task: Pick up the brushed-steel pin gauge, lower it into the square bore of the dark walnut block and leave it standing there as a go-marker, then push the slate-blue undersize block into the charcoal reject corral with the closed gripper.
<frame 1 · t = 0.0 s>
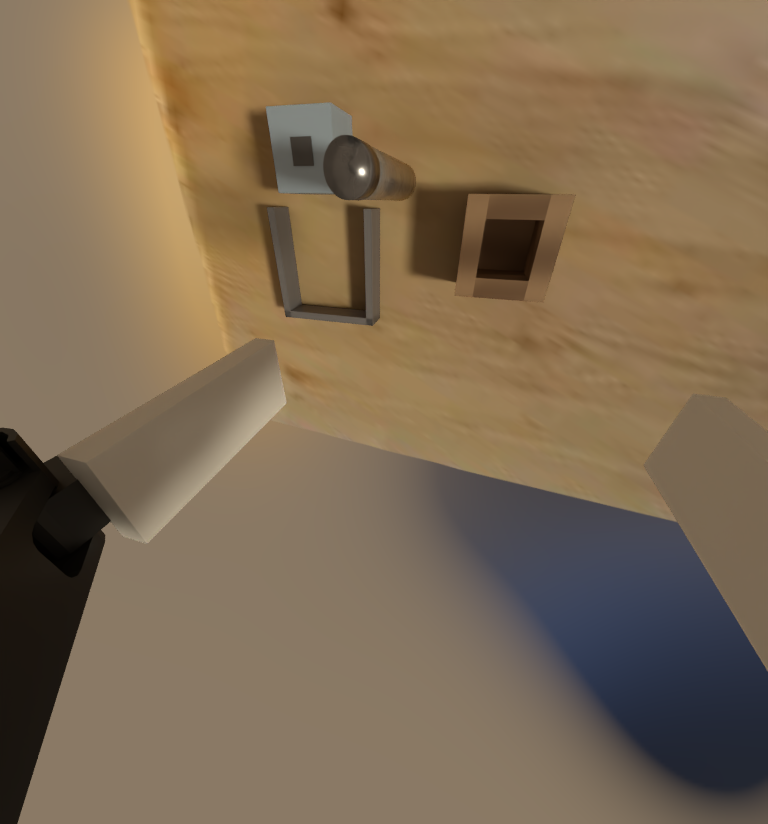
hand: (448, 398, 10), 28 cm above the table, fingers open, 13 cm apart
bore block: (504, 243, 31), on the table
undersize block: (325, 158, 31), on the table
reject corral: (333, 265, 37), on the table
pin gauge: (401, 182, 30), on the table
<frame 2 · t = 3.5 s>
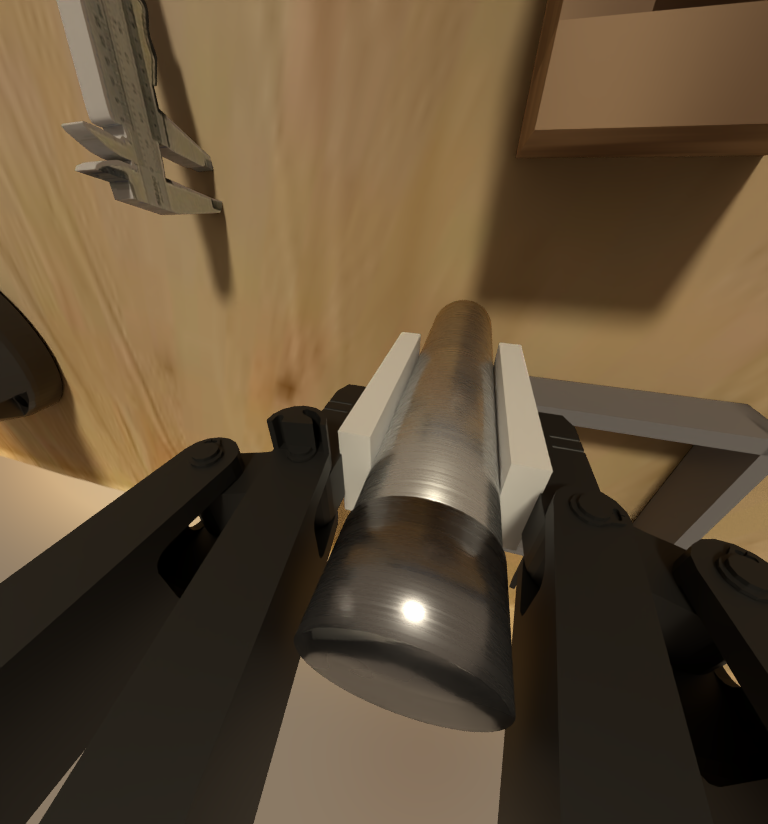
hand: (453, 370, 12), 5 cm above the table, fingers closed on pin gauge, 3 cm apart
reject corral: (571, 467, 19), on the table
pin gauge: (461, 329, 16), on the table, touching gripper
when the fingers open (7 cm above the table, at t = 10.0 s): pin gauge stays where it is, resting on bore block.
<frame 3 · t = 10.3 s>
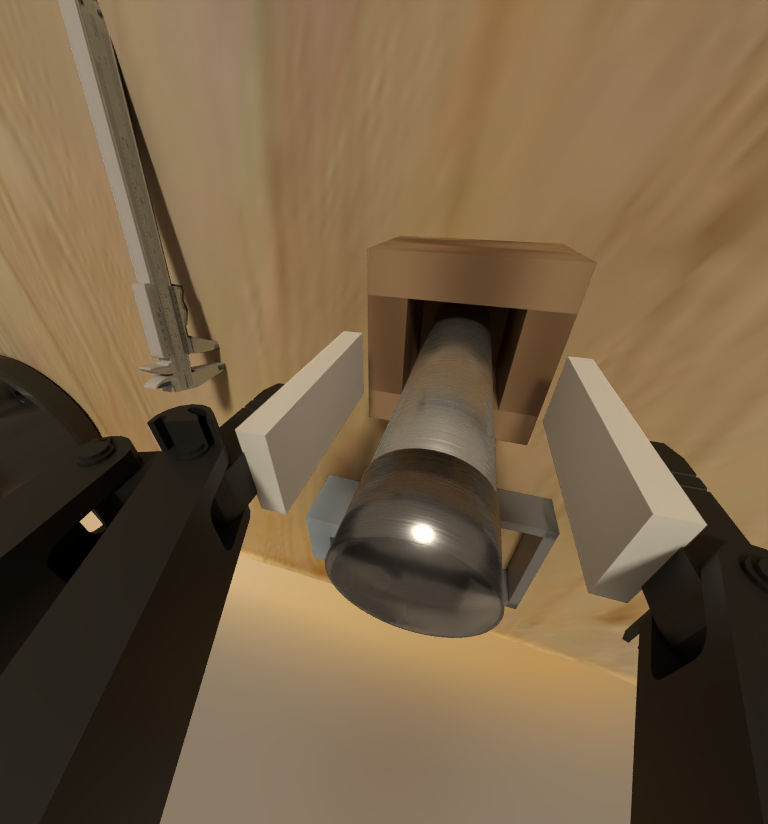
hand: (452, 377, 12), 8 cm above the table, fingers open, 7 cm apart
bore block: (463, 316, 18), on the table, touching pin gauge
undersize block: (360, 501, 30), on the table
reject corral: (463, 527, 28), on the table
pin gauge: (462, 322, 17), point 1 cm above the table, touching bore block
caliper: (175, 222, 20), on the table
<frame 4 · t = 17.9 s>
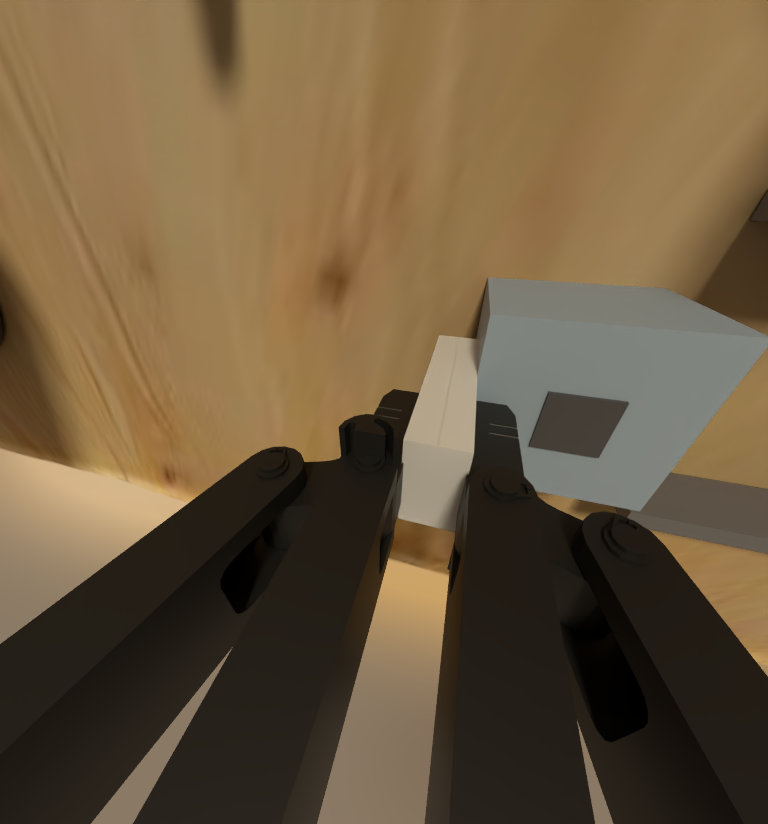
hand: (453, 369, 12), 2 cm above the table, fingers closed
undersize block: (546, 356, 13), on the table, touching gripper
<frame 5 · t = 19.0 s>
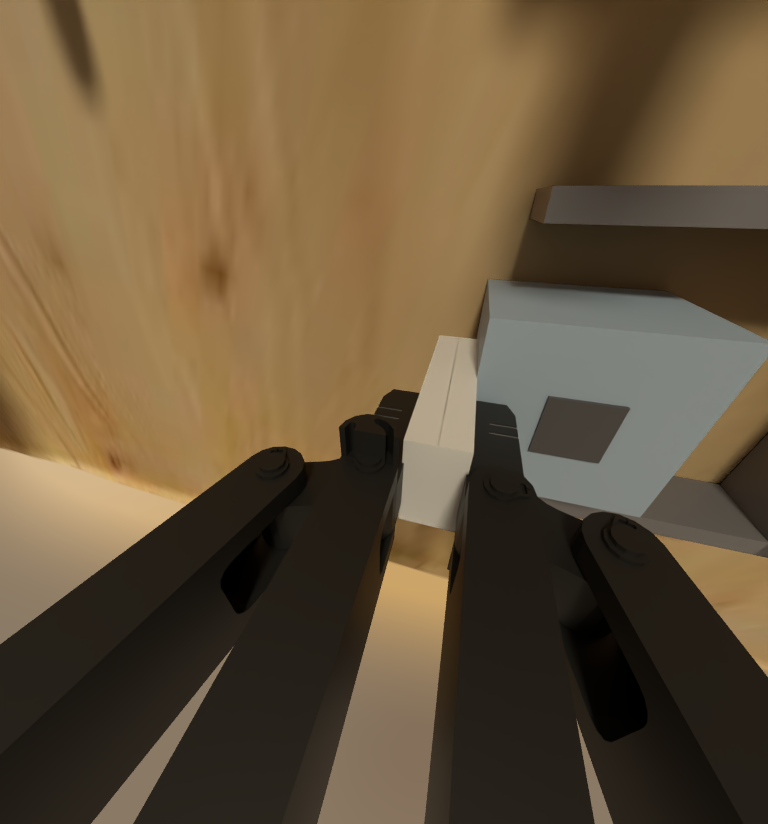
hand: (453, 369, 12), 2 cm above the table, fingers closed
undersize block: (546, 359, 13), on the table, touching gripper
reject corral: (650, 371, 12), on the table
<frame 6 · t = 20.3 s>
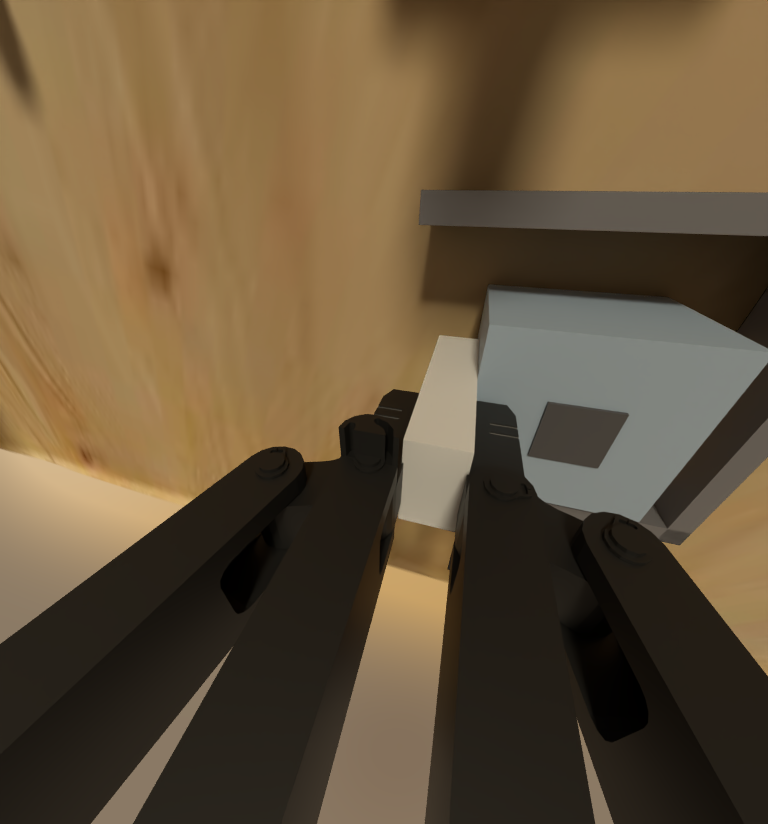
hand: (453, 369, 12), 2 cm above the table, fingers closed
undersize block: (546, 363, 13), on the table
reject corral: (559, 366, 13), on the table
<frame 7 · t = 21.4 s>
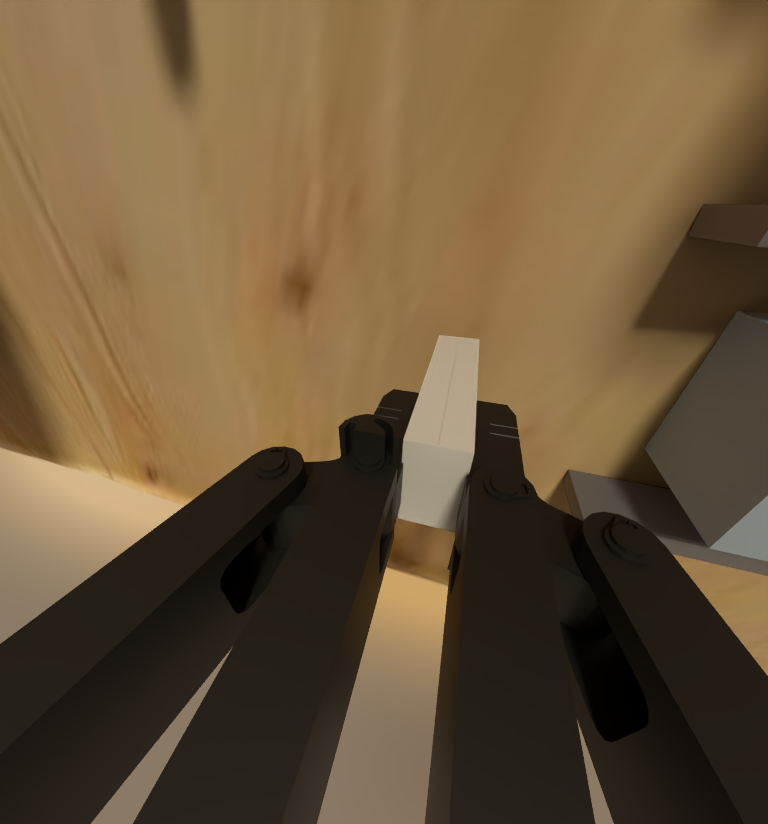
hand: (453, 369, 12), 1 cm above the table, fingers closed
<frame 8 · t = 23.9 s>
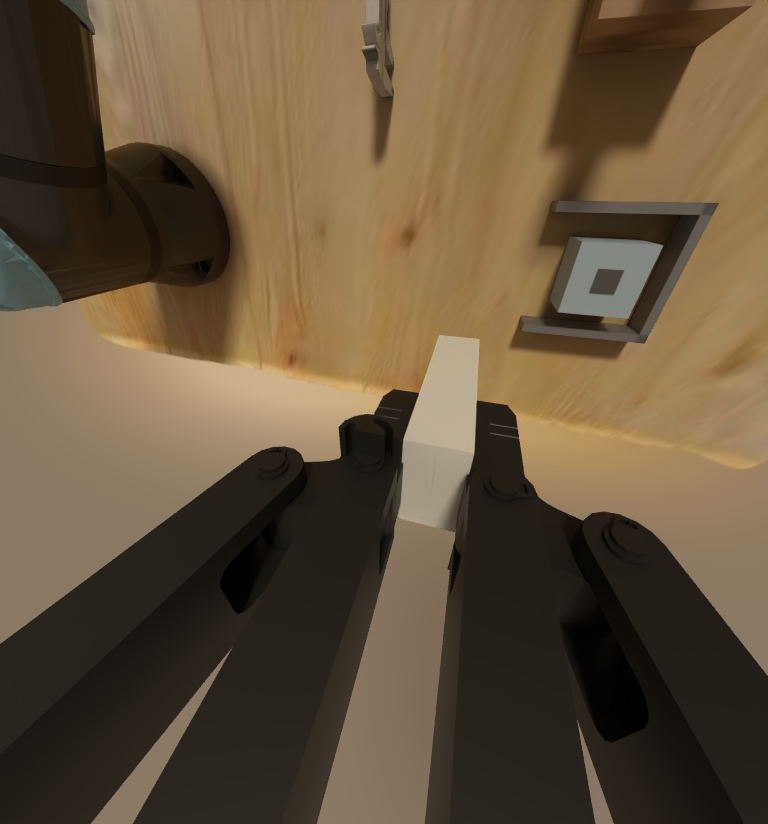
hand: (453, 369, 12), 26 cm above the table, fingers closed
undersize block: (590, 271, 31), on the table
reject corral: (595, 271, 31), on the table
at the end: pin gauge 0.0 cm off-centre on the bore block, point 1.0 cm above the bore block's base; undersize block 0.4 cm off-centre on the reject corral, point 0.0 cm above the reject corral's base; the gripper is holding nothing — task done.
